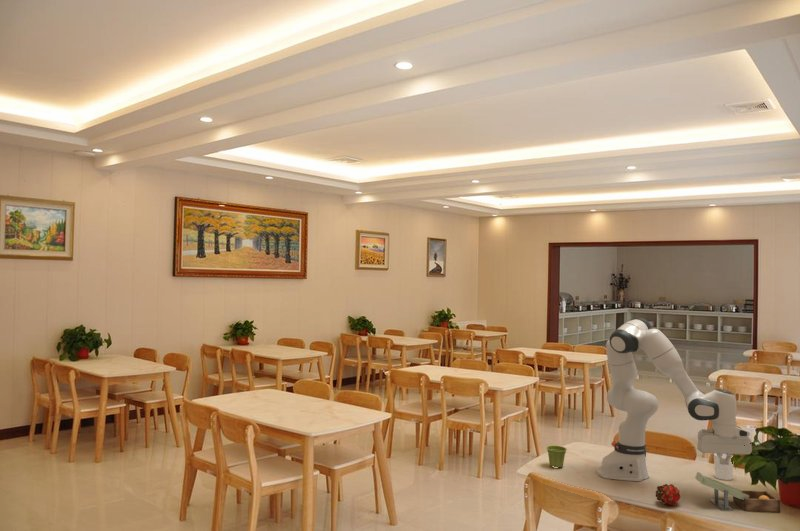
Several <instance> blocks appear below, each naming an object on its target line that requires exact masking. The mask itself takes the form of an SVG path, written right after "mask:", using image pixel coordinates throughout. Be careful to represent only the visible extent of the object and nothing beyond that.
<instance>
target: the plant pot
mask: <svg viewBox="0 0 800 531" xmlns="http://www.w3.org/2000/svg"><path fill="white" fill-rule="evenodd" d="M546 450H547V454H548V463H549V466H550V465H551V466H554V467H564V463H565V456H566V453H567V450H568V448H566V447H564V446H561V445H548V446H546ZM551 466H550V467H551Z"/></svg>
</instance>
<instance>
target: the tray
mask: <svg viewBox="0 0 800 531" xmlns="http://www.w3.org/2000/svg"><path fill="white" fill-rule="evenodd" d="M741 490H742V489H741ZM742 493H744V494H746V495H749V499H746V498H744V500H742V499H739V498H737V497H734V496H732V502H733V503H734V504H736V505H737V506H739V507H740V509H742V510H743V511H745V512H760V513H761V512H763V513H764V512H765V513H767V512H768V513H781V499H779V498H777V497H775V496H774V495H773V494H771V493H770V492H768V491H767V490H742ZM762 495H765V496H767V497H768V498H769V499H759V497H760V496H762Z"/></svg>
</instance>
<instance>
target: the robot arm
mask: <svg viewBox="0 0 800 531" xmlns="http://www.w3.org/2000/svg"><path fill="white" fill-rule="evenodd" d="M605 349H606V356H607V357H606V358H607V362H608V366H609V369H610V375H611V380H612V382H611V387H610V388H609V389H608V391H607V392H606V393H607V394H606V401H607V403H608V404H609V405H610V407H613V408H615V409H616V410H619V411H623V412H627V413H626V418H625V420H623V421H622V422H620V423H619V425H618V441H617V442H615V441H612V442H611V446H612V447H613V451H611V452H609V453H608V454H607V455H605V456H604V457H602V460H601V466H598V467H596V469H595V472H596V471H597V473H598V474H599V475H600V476H599V475H598V474H597V473H596V474H597V475H598V476H599V477H600V478H602V479H606V480H607V479H608V480H618V481H619V480H620V481H629V482H641V481H643V480H647V479H648V478H650V477H649V476H650V475H649V471H648V468H647V467H648V466H647V461H646V458H647V444H646V428H647V423H648V421H649V419H650V418H651V417H652V416H653V415H655V414H656V413H657V411H658V408H659V400H658V398H657V397H656V396H655V395H654V394H652V393H650V392H649V391H646V390H642V389H637V388H635V387H634V384H633V382H634V380H636V379H637V378H638V374H639V373H638V368H637V366H636V365H637V364H636V361H635V357H634V355H633V353H635V352H637V351H638V350H639V349H640V350H641V351H643V352H644V353H645V355H646V356H647V357H648V358H649V360H650V362H651V363H652V364H653V365H654V367H655V368H656V369H657V370H658V371H659V372H660V373H661V374H663V375H665V376H667V377H668V378H670V379H671V380H672V381H673V382H674V384H675V385H676V387H677V388H678V389H679V391H680V393H681V394H682V395H683V397H684V400H685V401H684V402H685V406H686V408H687V411H688V414H689V415H690V417H692V418H693V419H695V420H697V421H711V429H705V428H704V429H701V430H699V431H698V432H697V447H696V449H697V450H698V451H699V452H700V453H702V454H715V453H717V456H718V458H719V459H720V464H721V465H729V460H730V459H731V457H732V456H733V455H750V454H751V453H752V451H753V448H752V447H753V446H752V440H751V438H750V435H751V433H750V431H748V430H747V429H745V428H742V427H740V426H738V425H737V424H738V423H737V420H736V417H737V413H738V412H737V410H738V409H737V406H738V405H737V399H736V395H735V394H734V393H733V392H731V391H729V390H726V389H724V388H723V389H721V388H715V389H714V390H712V391H710V392H706V393H705V392H703V391H701V390H700V389H699V388H698V387H697V386H696V384H695V383H694V381H693V380H692V379H691V377H690V376H689V375H688V373H687V371H686V370H685V367H684V362H683V360H682V358H681V356H680V354H679V352H678V350H677V349H676V347H675V346H674V344H673V343H672V342H671V340H670V339H669V338H668V337H667V336H666V335H665V334H664V333H663V332H662V331H661V330H660V329H657V328H653V326H652V325H651V323H650V322H649V321H648V320H647V319H645V318H644V317H635V318H632V319H630V320H629V321H628V320H627V321H626V322H625V323H623V324H622V325H621V326H619V327H618V328H617V329H616V330H613V332H612V333H611V334H610V337H609V339H608V340H607V341H606V344H605ZM750 443H751V444H750ZM744 445H745V446H744ZM723 454H726V455H727V457H726V459H722V457H721V456H722V455H723Z"/></svg>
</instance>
